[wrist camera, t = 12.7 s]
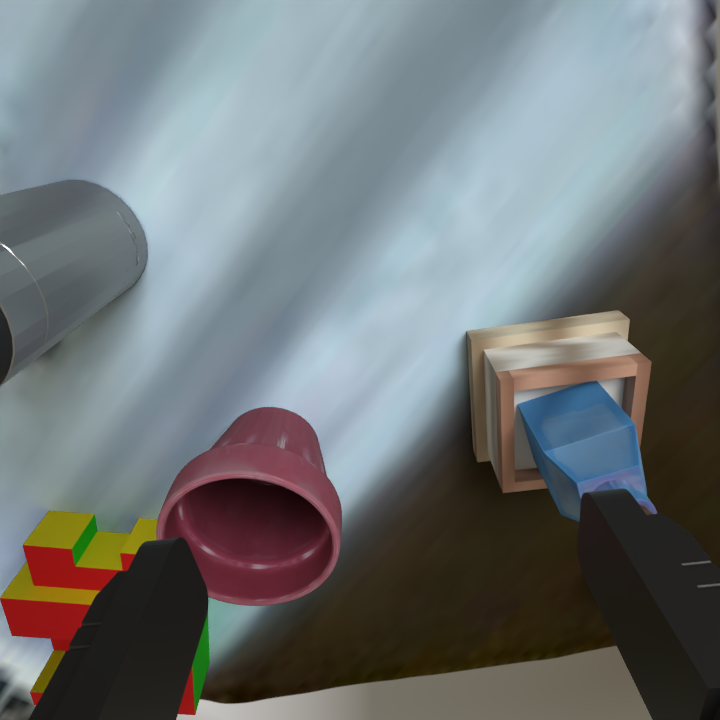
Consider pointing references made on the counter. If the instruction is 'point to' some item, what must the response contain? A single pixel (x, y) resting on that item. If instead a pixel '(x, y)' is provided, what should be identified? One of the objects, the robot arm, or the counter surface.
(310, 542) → the plant pot
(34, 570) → the building blocks toy
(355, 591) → the counter surface
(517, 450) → the pedestal
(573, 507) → the perfume bottle
